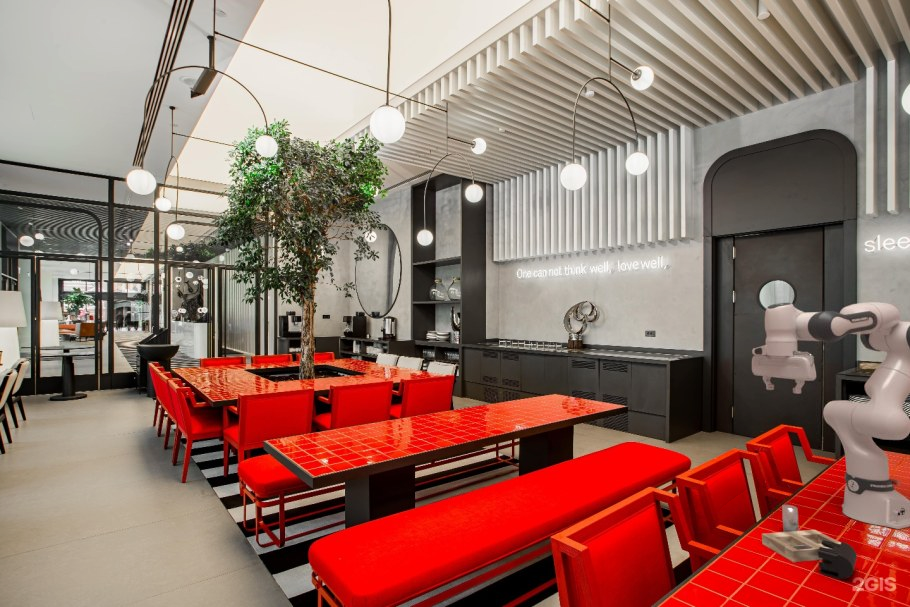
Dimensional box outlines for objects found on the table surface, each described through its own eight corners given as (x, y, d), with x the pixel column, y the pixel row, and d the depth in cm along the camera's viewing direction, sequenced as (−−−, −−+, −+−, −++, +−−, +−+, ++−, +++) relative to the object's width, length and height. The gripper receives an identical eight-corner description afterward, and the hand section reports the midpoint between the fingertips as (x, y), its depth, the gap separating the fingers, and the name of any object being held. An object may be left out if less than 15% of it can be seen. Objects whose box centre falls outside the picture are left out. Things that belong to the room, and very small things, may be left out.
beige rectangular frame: (814, 539, 143) (814, 529, 144) (849, 557, 132) (848, 545, 133) (762, 543, 141) (761, 533, 141) (793, 562, 130) (792, 550, 130)
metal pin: (791, 529, 151) (790, 504, 151) (802, 534, 147) (800, 509, 147) (780, 530, 150) (779, 505, 150) (790, 535, 146) (789, 510, 147)
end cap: (853, 584, 119) (852, 557, 119) (818, 574, 124) (817, 548, 124) (857, 570, 126) (856, 544, 126) (824, 560, 131) (823, 536, 131)
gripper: (820, 351, 148) (822, 395, 148) (761, 349, 168) (763, 387, 167) (805, 352, 146) (807, 396, 146) (747, 349, 166) (749, 388, 165)
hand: (783, 391), depth 157 cm, fingers open, 8 cm apart
